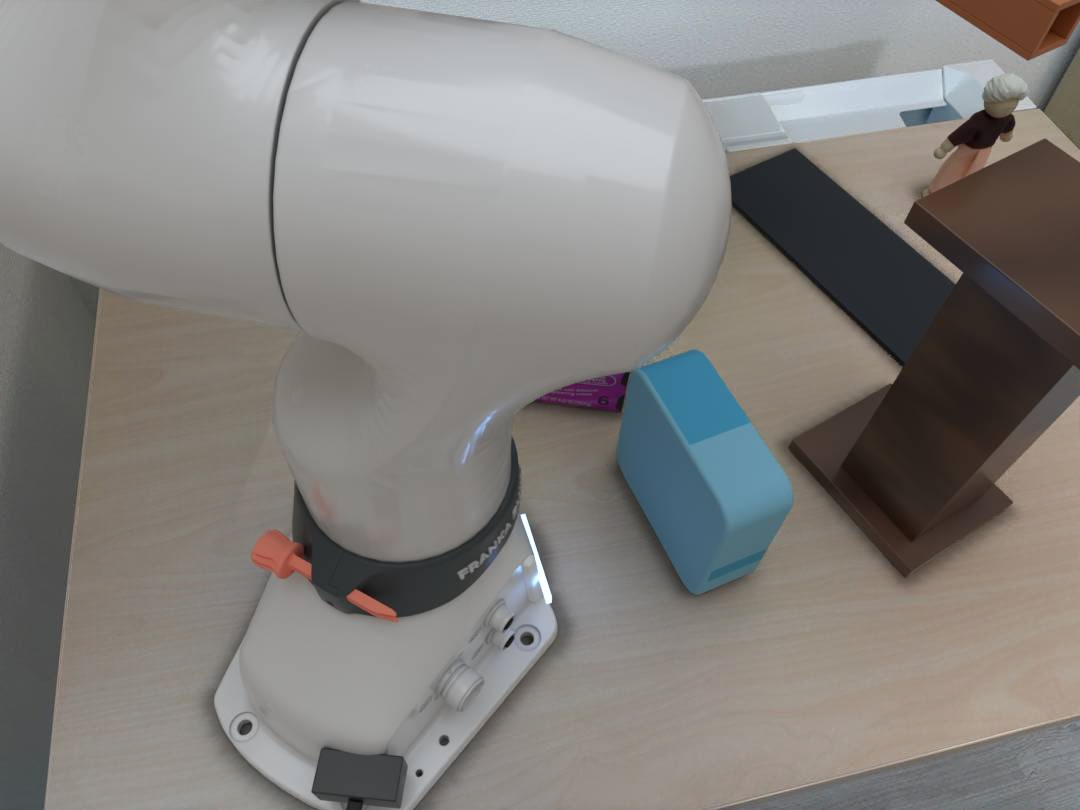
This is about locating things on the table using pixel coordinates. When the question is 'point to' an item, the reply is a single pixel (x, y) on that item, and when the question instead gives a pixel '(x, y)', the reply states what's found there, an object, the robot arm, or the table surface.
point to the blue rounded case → (700, 471)
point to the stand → (967, 364)
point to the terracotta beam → (1021, 22)
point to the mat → (843, 249)
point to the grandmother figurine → (980, 131)
